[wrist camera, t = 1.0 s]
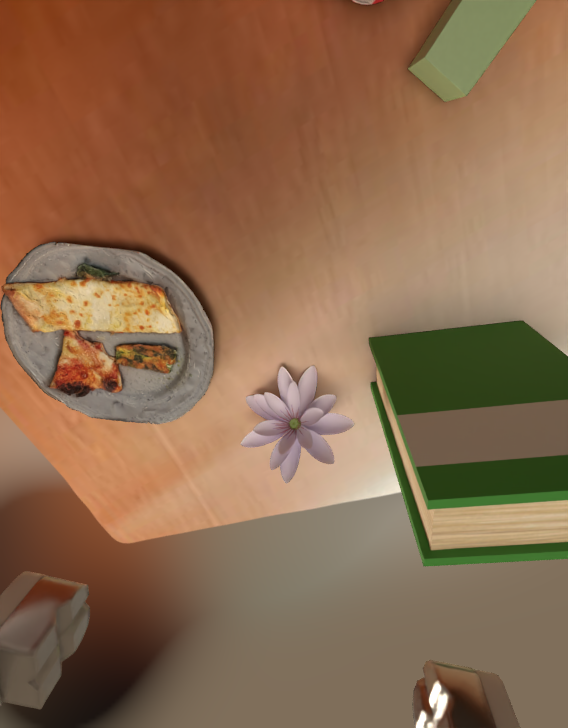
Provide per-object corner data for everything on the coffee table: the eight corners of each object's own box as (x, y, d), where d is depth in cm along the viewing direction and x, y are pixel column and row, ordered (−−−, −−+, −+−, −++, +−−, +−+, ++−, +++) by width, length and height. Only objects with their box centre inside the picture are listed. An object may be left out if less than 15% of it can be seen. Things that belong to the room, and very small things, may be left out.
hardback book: (370, 388, 49) (423, 566, 29) (369, 337, 46) (428, 500, 25) (512, 374, 48) (678, 552, 27) (522, 320, 44) (723, 479, 23)
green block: (407, 68, 33) (424, 57, 28) (478, -42, 29) (510, -74, 25) (445, 102, 34) (466, 96, 29) (517, -1, 30) (554, -25, 26)
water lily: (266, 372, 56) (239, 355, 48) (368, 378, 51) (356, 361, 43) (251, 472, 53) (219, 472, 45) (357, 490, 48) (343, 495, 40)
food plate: (37, 403, 52) (21, 419, 49) (-15, 229, 41) (-41, 236, 37) (217, 420, 53) (212, 436, 50) (217, 252, 41) (211, 260, 38)
